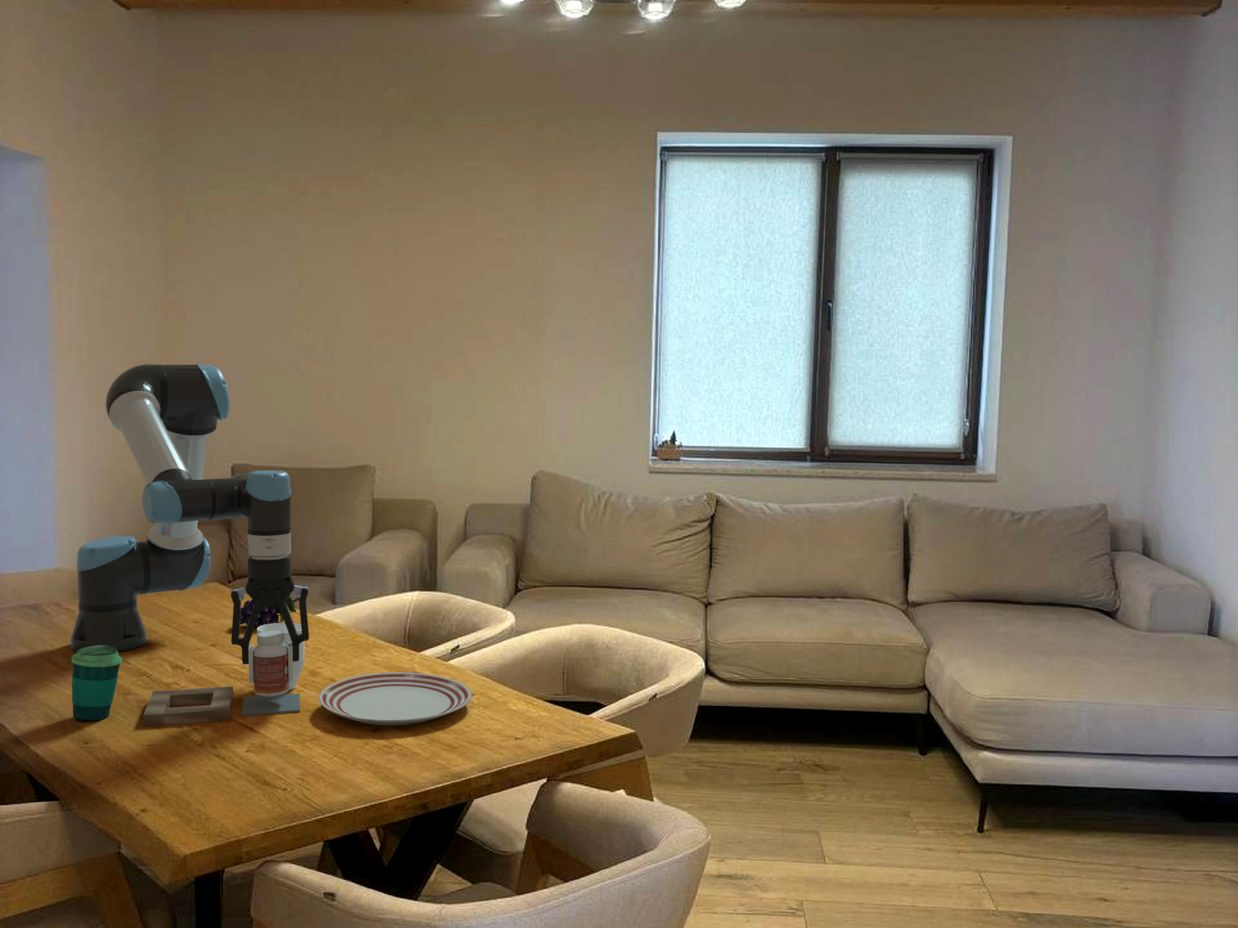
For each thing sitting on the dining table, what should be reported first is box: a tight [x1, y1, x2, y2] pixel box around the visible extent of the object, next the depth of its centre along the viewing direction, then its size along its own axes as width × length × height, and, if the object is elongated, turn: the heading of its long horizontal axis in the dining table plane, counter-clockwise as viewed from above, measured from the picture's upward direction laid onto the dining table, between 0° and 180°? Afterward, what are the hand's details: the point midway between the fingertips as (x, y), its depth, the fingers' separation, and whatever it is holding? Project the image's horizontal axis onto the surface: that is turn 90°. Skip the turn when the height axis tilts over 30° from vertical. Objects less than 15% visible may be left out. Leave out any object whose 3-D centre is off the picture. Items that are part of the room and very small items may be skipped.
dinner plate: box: [318, 671, 472, 727], centre depth 203 cm, size 27×27×3 cm
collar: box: [142, 685, 234, 727], centre depth 200 cm, size 14×14×2 cm
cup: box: [71, 645, 123, 723], centre depth 196 cm, size 8×8×12 cm
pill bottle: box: [253, 631, 290, 697], centre depth 203 cm, size 6×6×11 cm
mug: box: [256, 622, 306, 691], centre depth 215 cm, size 12×9×12 cm
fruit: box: [240, 594, 299, 627], centre depth 262 cm, size 10×11×15 cm
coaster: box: [241, 693, 301, 717], centre depth 204 cm, size 10×10×1 cm
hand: (271, 679), depth 203 cm, fingers closed on pill bottle, 6 cm apart
